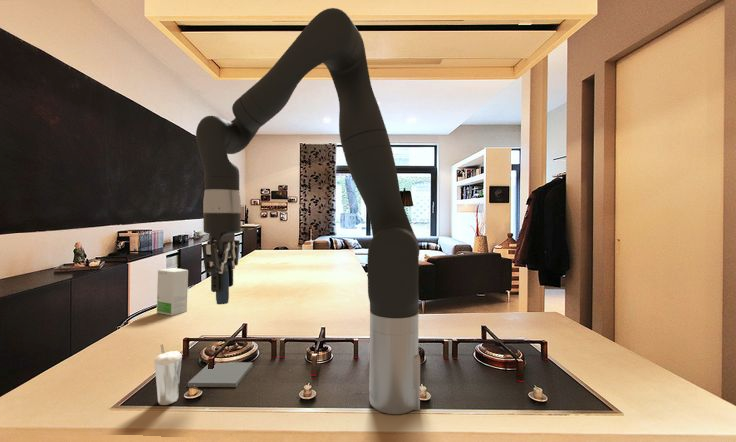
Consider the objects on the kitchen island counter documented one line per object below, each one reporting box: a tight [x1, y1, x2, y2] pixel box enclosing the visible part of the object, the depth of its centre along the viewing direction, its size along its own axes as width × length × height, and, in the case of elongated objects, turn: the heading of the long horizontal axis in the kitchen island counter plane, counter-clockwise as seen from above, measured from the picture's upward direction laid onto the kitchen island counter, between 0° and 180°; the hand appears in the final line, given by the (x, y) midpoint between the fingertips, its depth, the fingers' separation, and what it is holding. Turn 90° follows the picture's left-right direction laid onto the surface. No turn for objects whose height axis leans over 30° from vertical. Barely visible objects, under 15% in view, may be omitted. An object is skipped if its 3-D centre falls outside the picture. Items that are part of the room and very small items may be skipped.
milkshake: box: [153, 343, 183, 406], centre depth 66 cm, size 4×5×10 cm
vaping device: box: [215, 257, 230, 305], centre depth 75 cm, size 3×5×12 cm, turn 21°
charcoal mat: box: [187, 361, 254, 388], centre depth 76 cm, size 10×10×1 cm
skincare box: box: [156, 267, 189, 317], centre depth 125 cm, size 8×7×16 cm
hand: (222, 288), depth 76 cm, fingers closed on vaping device, 5 cm apart
